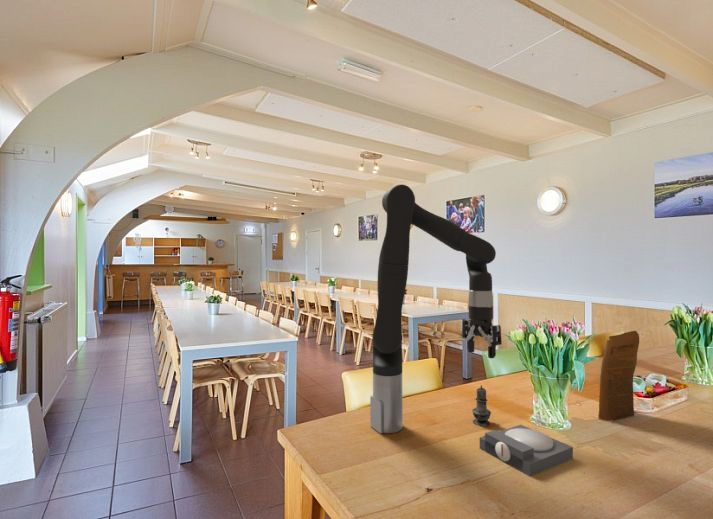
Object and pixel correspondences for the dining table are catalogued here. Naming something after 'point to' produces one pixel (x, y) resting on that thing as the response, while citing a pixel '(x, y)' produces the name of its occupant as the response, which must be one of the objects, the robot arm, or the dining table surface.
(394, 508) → the dining table surface
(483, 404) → the salt shaker
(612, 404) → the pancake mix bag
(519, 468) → the kitchen scale
